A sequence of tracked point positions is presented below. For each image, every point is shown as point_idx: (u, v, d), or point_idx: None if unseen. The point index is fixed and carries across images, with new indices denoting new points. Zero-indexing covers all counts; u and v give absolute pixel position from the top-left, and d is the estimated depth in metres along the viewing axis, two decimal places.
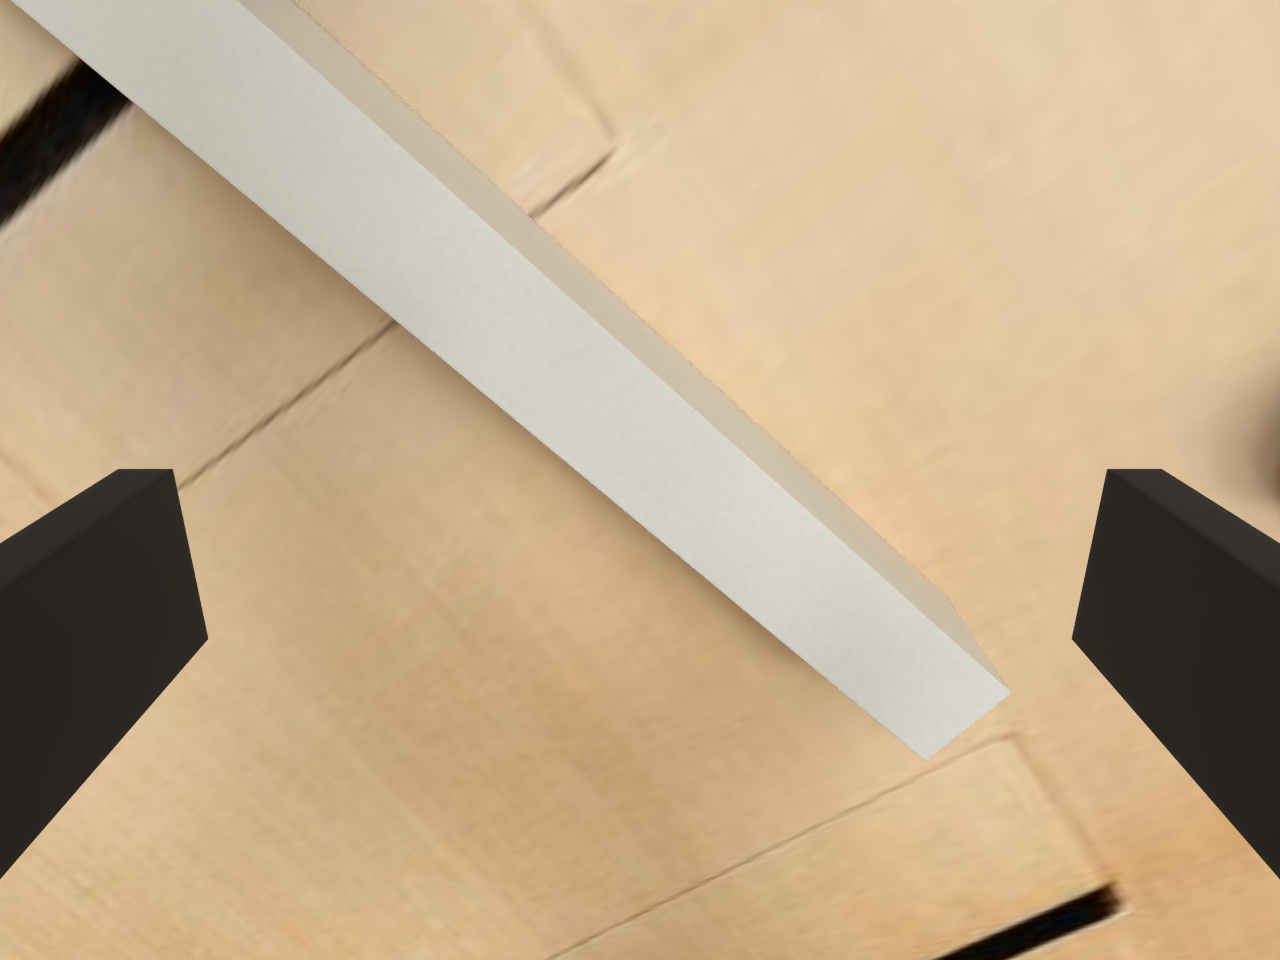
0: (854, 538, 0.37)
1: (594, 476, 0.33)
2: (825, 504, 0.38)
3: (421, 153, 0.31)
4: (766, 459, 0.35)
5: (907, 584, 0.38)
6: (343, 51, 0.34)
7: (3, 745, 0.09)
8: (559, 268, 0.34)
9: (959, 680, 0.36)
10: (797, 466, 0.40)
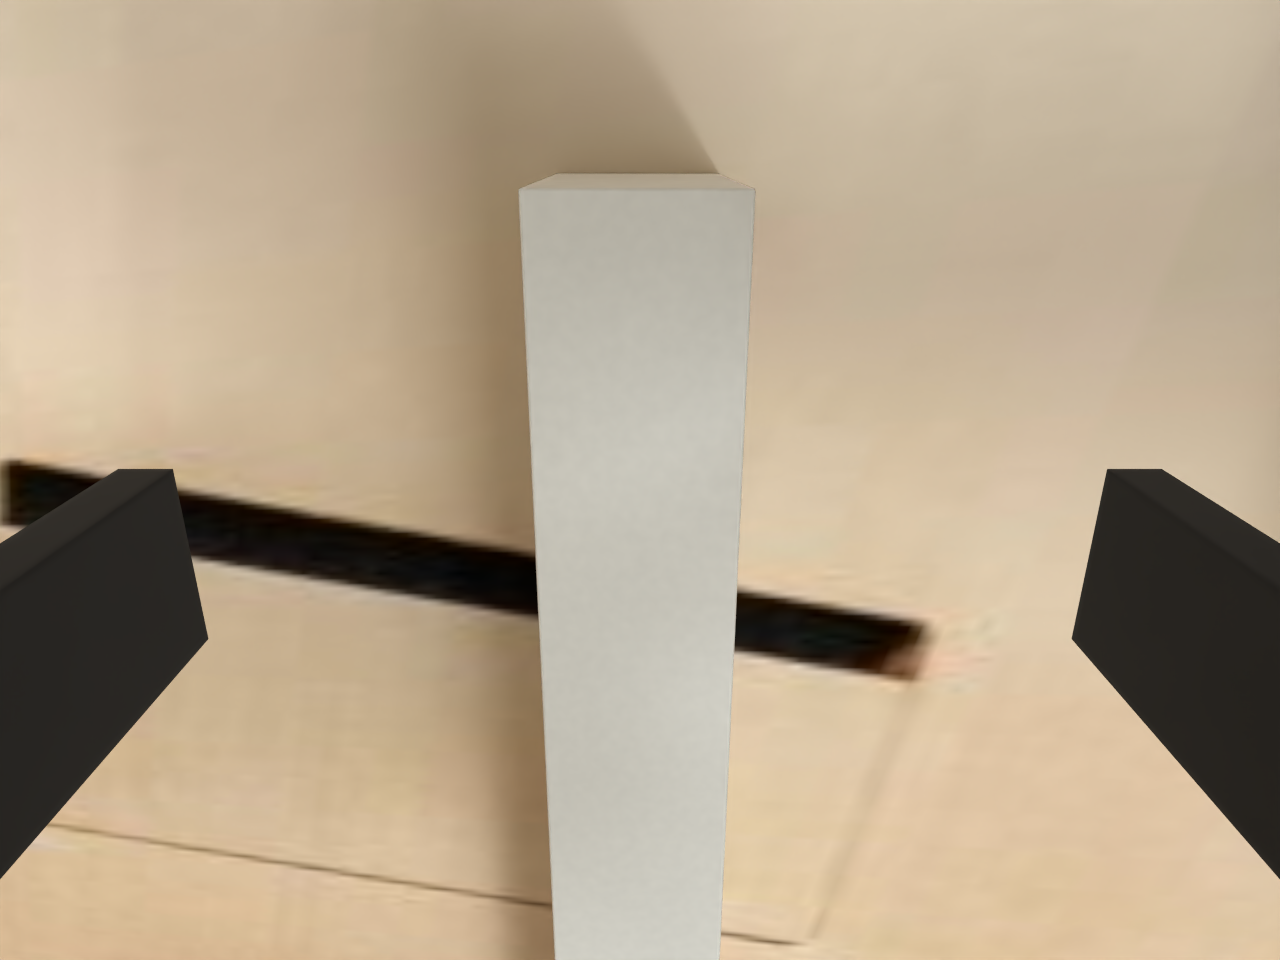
0: None
1: None
2: None
3: None
4: None
5: None
6: None
7: (3, 745, 0.09)
8: None
9: None
10: None
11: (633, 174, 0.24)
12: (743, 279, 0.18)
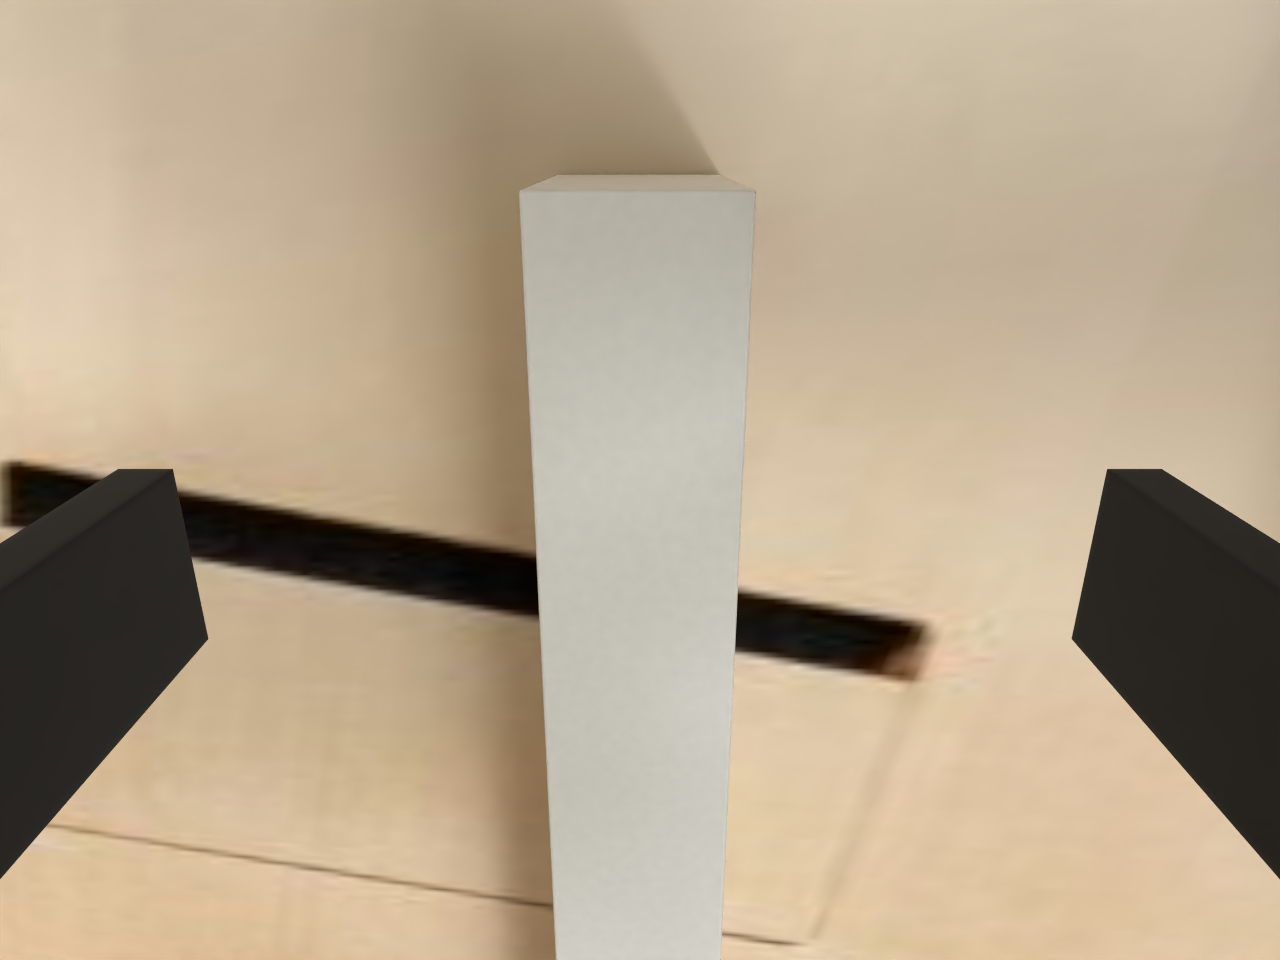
0: None
1: None
2: None
3: None
4: None
5: None
6: None
7: (3, 745, 0.09)
8: None
9: None
10: None
11: (633, 175, 0.25)
12: (744, 280, 0.18)
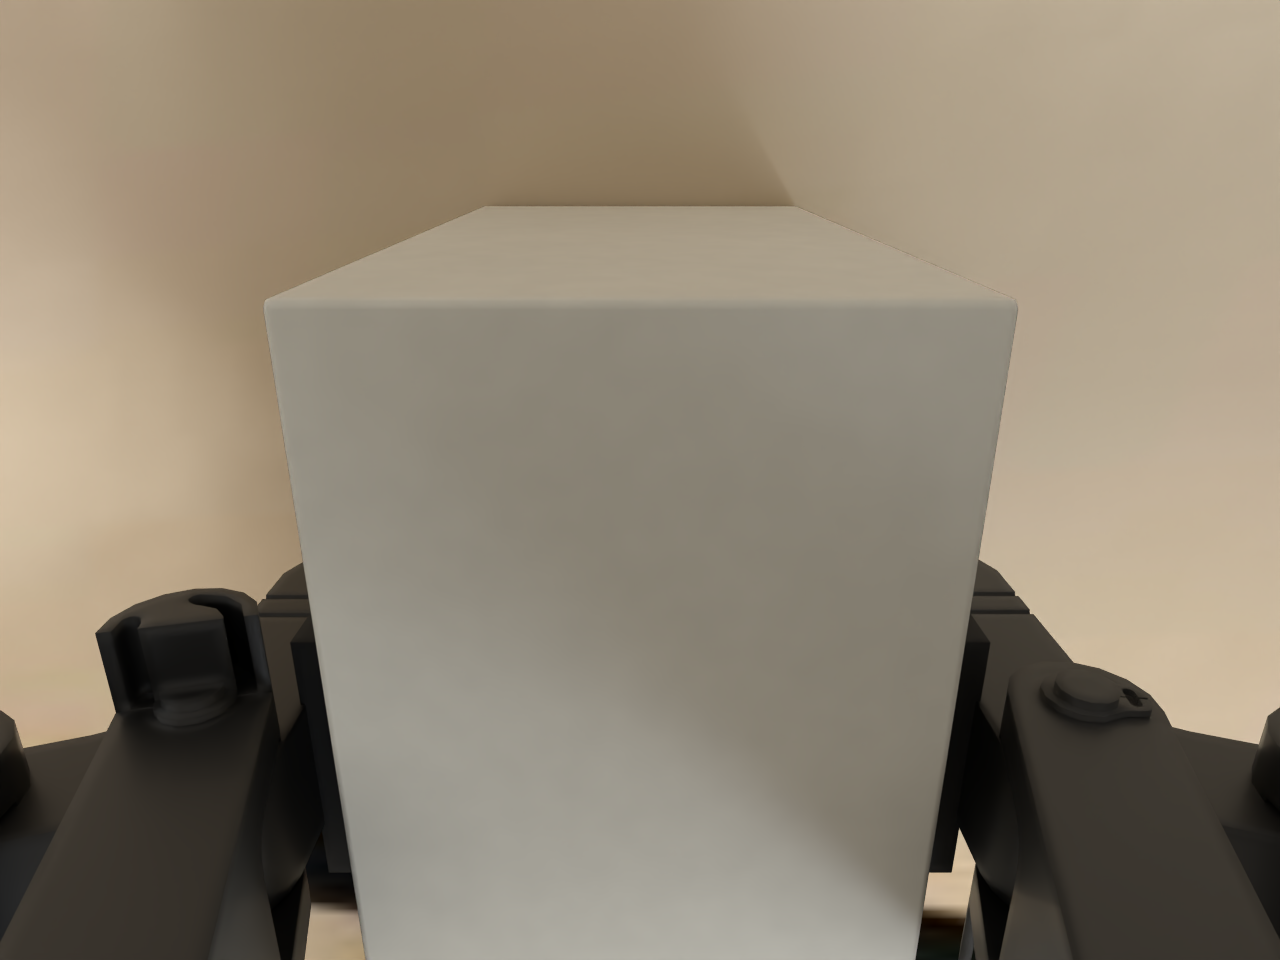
0: None
1: None
2: None
3: None
4: None
5: None
6: None
7: None
8: None
9: None
10: None
11: (631, 209, 0.12)
12: (958, 558, 0.06)
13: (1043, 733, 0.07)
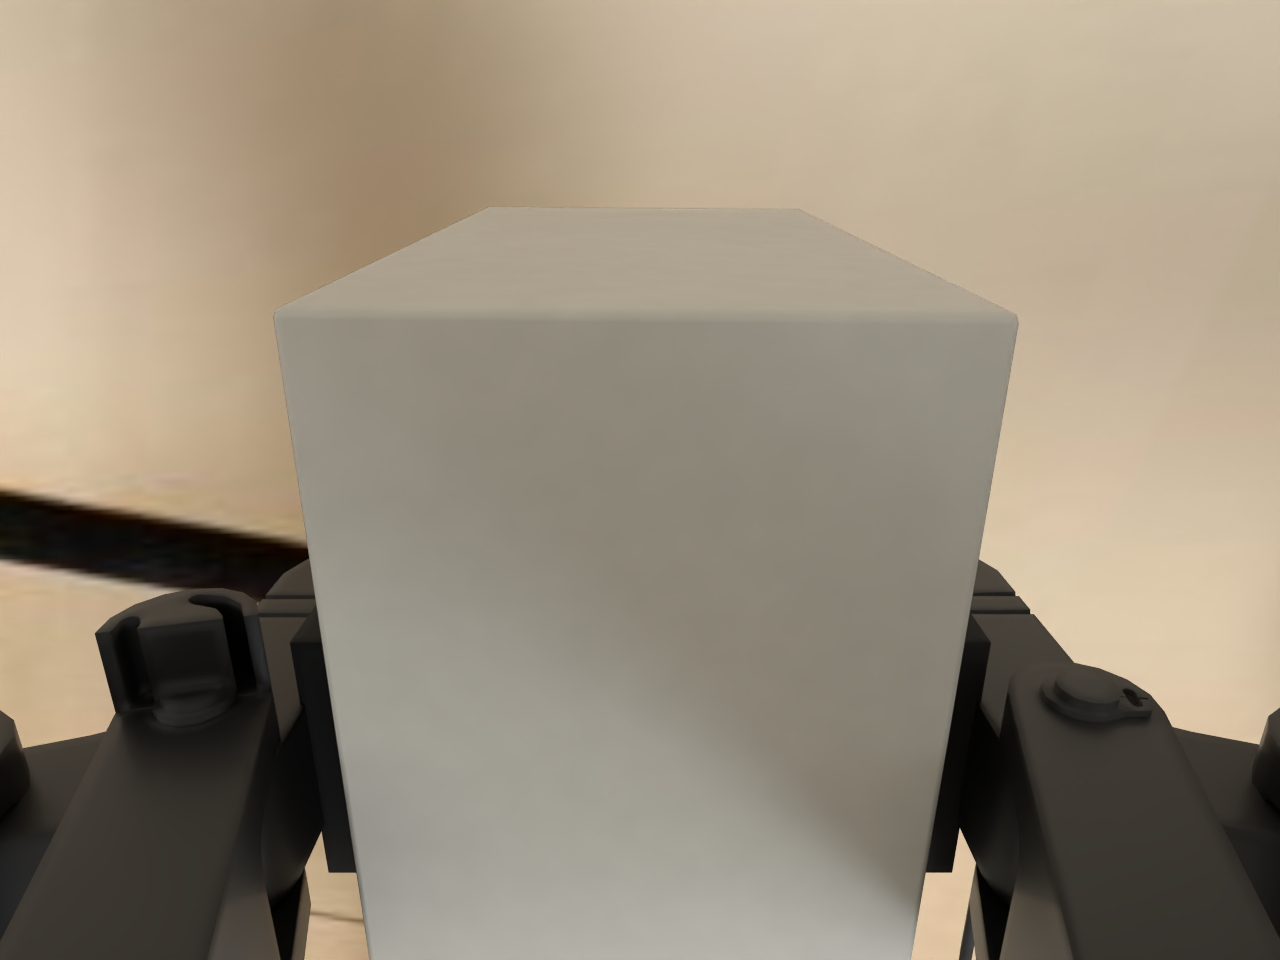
0: None
1: None
2: None
3: None
4: None
5: None
6: None
7: None
8: None
9: None
10: None
11: (635, 211, 0.12)
12: (958, 568, 0.06)
13: (1043, 733, 0.07)
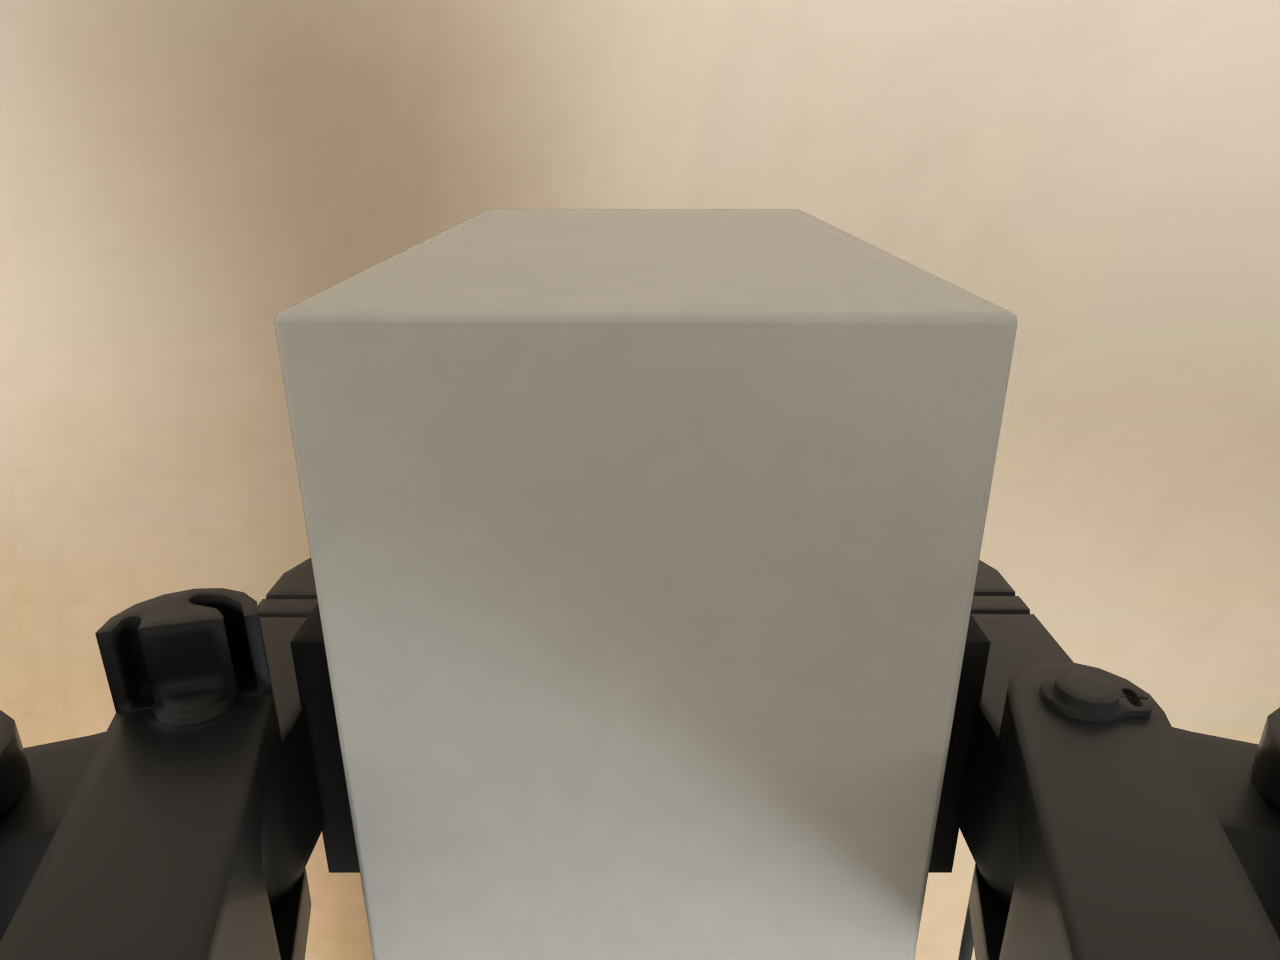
0: None
1: None
2: None
3: None
4: None
5: None
6: None
7: None
8: None
9: None
10: None
11: (634, 213, 0.12)
12: (957, 566, 0.06)
13: (1042, 732, 0.07)
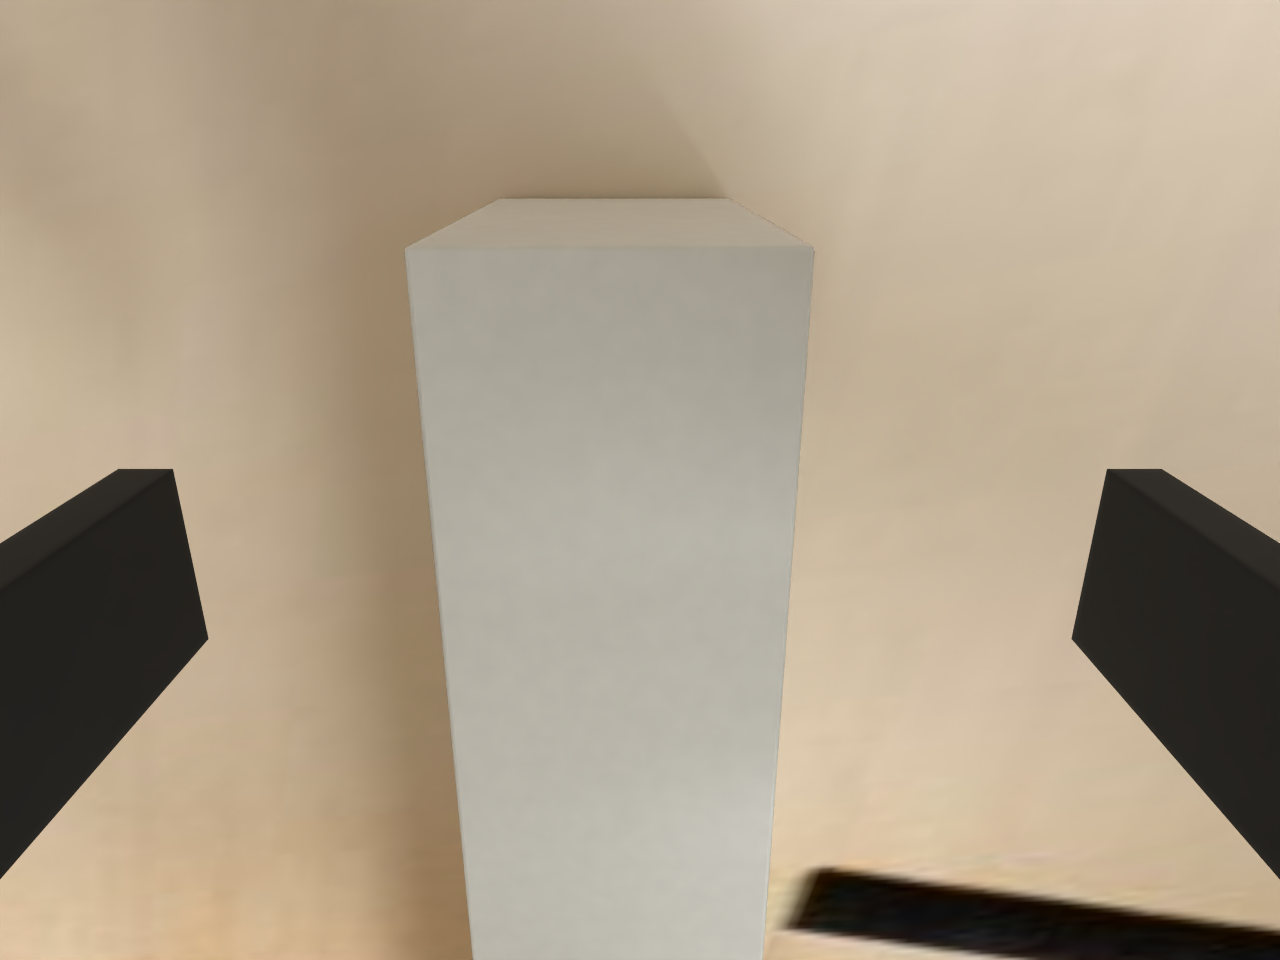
0: None
1: None
2: None
3: None
4: None
5: None
6: None
7: (3, 745, 0.09)
8: None
9: None
10: None
11: (608, 201, 0.17)
12: (791, 395, 0.11)
13: None
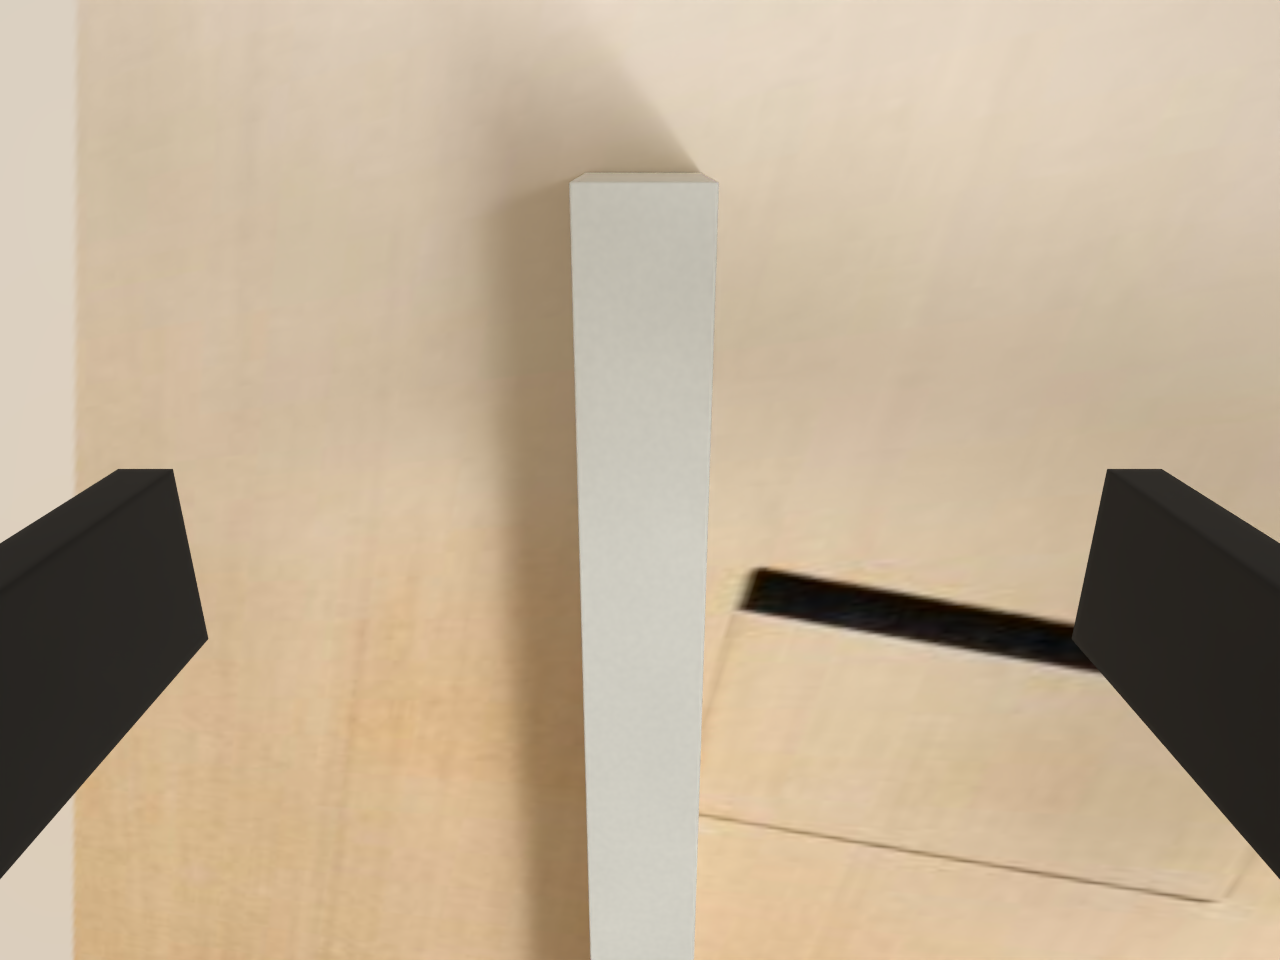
0: None
1: None
2: None
3: None
4: None
5: None
6: None
7: (3, 745, 0.09)
8: None
9: None
10: None
11: None
12: (711, 240, 0.29)
13: None
